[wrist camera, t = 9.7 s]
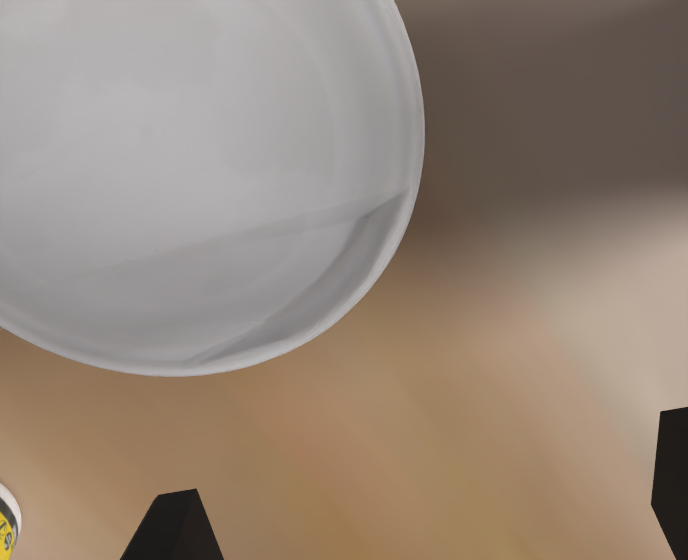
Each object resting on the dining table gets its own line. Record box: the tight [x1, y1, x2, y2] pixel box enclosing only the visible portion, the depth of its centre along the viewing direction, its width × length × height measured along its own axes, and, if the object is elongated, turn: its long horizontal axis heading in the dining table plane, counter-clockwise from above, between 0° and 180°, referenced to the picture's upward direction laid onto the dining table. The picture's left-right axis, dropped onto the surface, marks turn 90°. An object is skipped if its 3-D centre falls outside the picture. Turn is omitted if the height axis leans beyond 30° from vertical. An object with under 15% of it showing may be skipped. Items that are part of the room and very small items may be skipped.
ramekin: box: [0, 0, 425, 377], centre depth 15 cm, size 11×11×5 cm
